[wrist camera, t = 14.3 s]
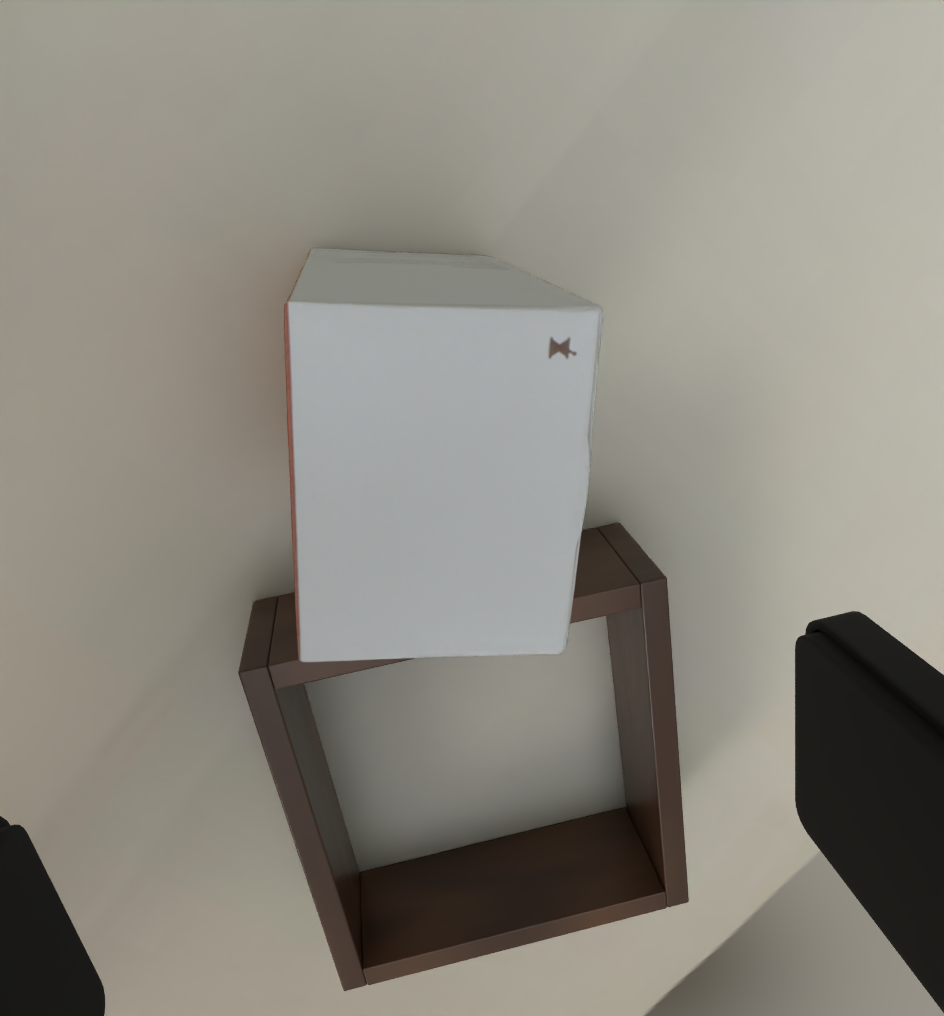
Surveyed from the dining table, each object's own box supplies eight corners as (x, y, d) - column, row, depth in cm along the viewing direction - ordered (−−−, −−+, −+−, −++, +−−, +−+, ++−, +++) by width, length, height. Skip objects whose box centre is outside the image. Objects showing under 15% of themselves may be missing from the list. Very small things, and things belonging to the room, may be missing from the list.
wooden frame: (343, 893, 37) (343, 992, 32) (252, 600, 31) (237, 672, 26) (647, 817, 38) (689, 902, 34) (620, 522, 32) (667, 577, 27)
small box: (307, 245, 26) (279, 290, 14) (493, 253, 27) (614, 301, 15) (313, 474, 29) (295, 671, 17) (481, 474, 30) (574, 658, 18)
